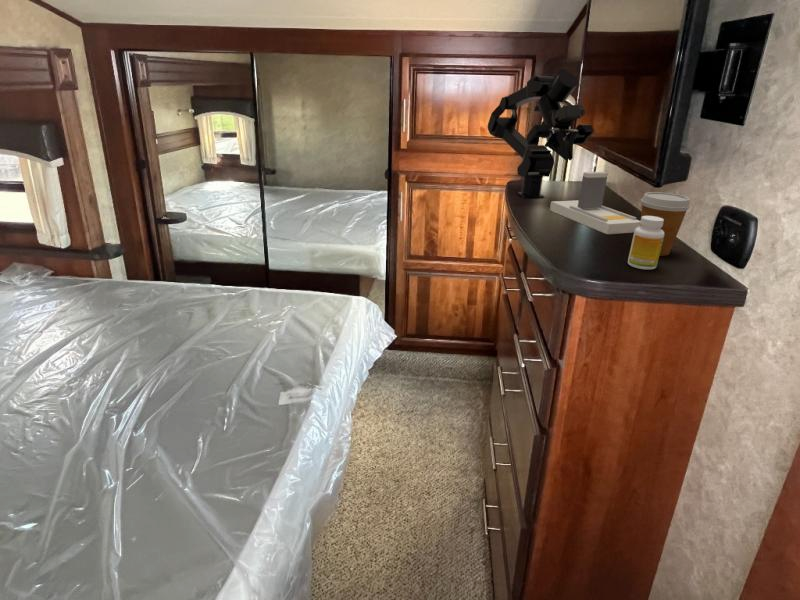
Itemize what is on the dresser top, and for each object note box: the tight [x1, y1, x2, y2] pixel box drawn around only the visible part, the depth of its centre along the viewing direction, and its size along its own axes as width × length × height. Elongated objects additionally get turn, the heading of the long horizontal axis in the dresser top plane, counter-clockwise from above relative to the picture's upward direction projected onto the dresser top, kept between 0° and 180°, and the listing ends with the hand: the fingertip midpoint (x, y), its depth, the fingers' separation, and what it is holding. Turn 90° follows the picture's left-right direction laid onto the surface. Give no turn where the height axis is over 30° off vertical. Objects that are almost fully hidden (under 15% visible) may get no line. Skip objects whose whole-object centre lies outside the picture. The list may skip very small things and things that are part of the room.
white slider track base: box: [549, 199, 641, 235], centre depth 135 cm, size 24×10×3 cm, turn 19°
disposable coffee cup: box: [640, 191, 692, 257], centre depth 110 cm, size 10×10×12 cm
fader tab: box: [578, 171, 609, 209], centre depth 135 cm, size 2×6×9 cm, turn 109°
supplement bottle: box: [627, 216, 664, 271], centre depth 102 cm, size 5×5×10 cm
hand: (569, 159), depth 142 cm, fingers closed
